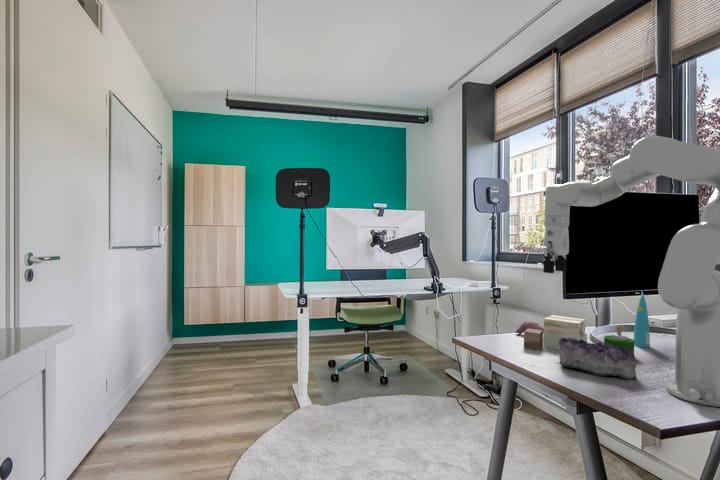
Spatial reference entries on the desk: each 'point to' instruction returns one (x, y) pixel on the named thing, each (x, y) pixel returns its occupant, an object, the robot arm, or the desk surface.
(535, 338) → the walnut block
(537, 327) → the pink animal figurine
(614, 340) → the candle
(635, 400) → the desk surface
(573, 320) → the cream wooden block
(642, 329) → the tube
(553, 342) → the tower base
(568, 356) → the geode
